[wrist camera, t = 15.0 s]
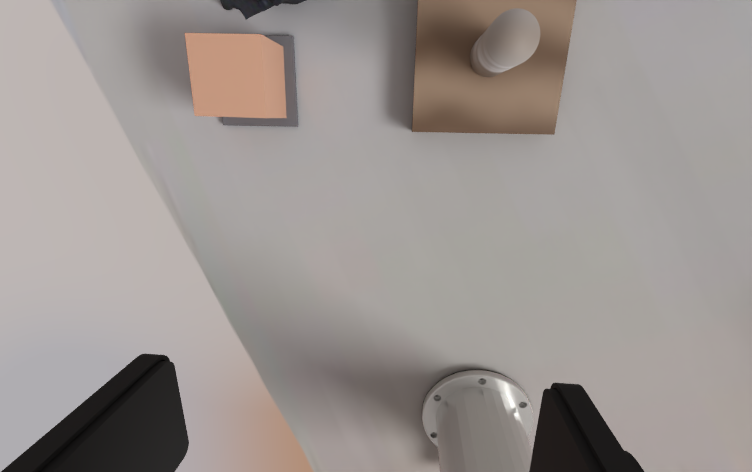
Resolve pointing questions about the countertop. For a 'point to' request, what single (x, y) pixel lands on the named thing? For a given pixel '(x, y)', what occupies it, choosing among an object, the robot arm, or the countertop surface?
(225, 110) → the peach colored cube
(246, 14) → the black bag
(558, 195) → the countertop surface
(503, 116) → the square brown stand
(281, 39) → the mat
